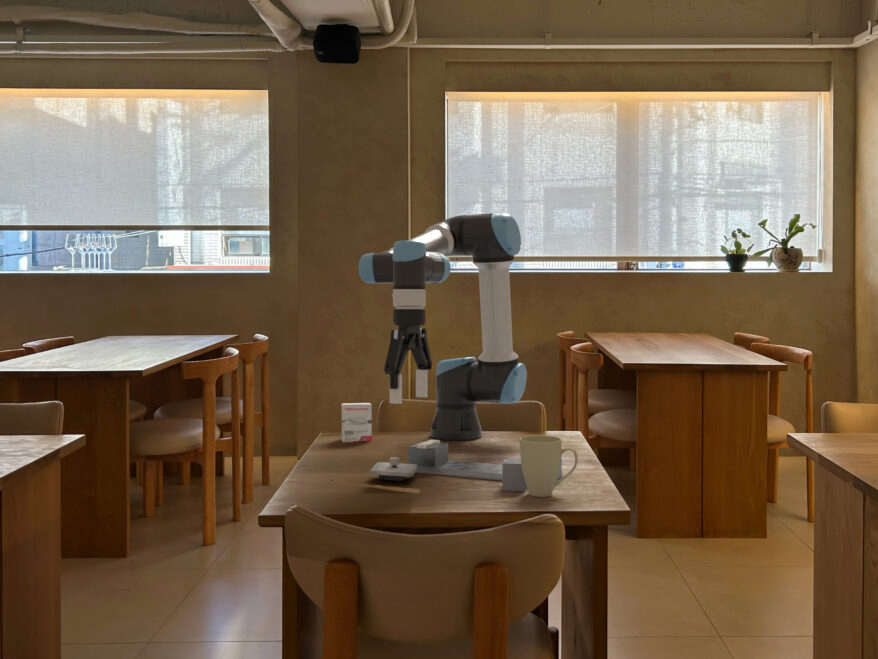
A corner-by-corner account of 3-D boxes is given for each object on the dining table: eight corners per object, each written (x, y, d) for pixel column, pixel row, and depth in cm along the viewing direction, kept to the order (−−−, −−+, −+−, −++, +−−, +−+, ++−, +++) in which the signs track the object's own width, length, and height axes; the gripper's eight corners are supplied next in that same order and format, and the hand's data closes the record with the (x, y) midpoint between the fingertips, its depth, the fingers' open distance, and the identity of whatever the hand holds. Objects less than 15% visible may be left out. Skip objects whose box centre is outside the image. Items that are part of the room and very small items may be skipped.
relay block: (504, 485, 190) (504, 459, 190) (526, 486, 189) (526, 459, 189) (502, 490, 185) (502, 463, 185) (525, 491, 184) (525, 464, 184)
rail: (424, 464, 214) (424, 438, 213) (562, 476, 199) (562, 448, 199) (407, 471, 204) (407, 444, 204) (550, 485, 190) (550, 456, 189)
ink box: (370, 442, 246) (370, 401, 246) (372, 445, 241) (371, 404, 241) (341, 442, 245) (341, 402, 245) (342, 445, 240) (341, 404, 240)
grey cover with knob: (411, 484, 189) (412, 461, 189) (368, 481, 190) (369, 458, 190) (417, 477, 199) (418, 456, 199) (376, 474, 200) (377, 453, 200)
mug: (534, 502, 174) (535, 444, 174) (511, 491, 183) (512, 436, 183) (579, 496, 179) (580, 440, 178) (555, 487, 188) (555, 433, 187)
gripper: (417, 307, 207) (417, 394, 207) (368, 308, 184) (368, 405, 185) (445, 307, 204) (445, 395, 204) (399, 308, 181) (399, 407, 182)
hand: (409, 400), depth 194 cm, fingers open, 13 cm apart
